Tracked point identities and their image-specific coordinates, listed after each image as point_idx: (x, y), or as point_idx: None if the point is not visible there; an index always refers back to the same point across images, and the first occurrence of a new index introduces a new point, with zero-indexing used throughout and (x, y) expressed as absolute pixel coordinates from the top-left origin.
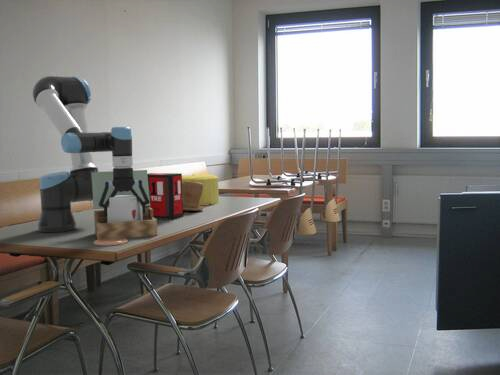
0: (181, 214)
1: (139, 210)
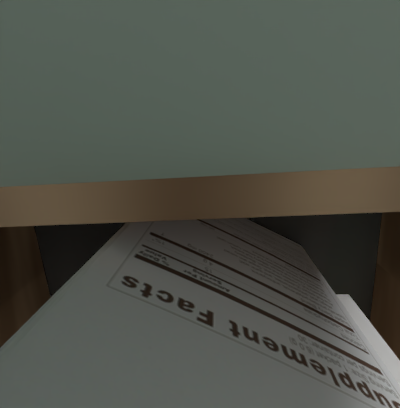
0: None
1: (394, 386)
